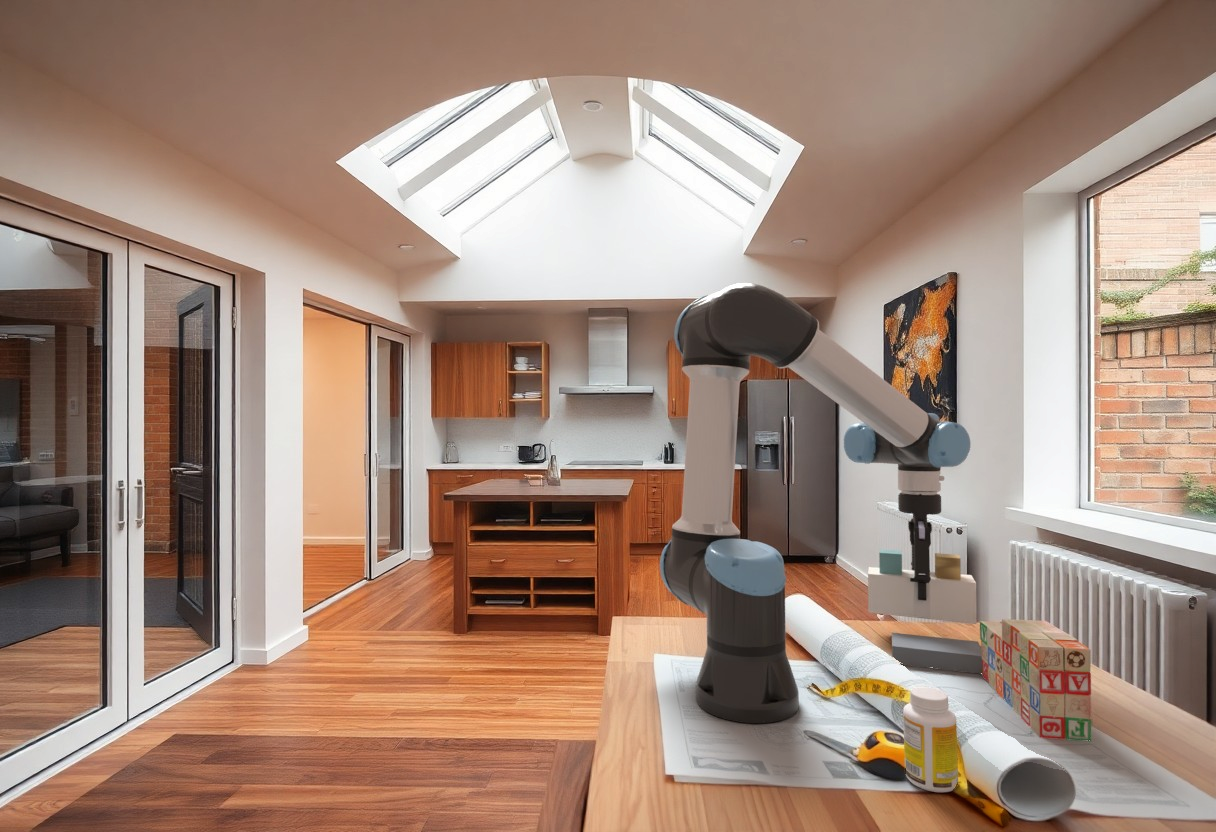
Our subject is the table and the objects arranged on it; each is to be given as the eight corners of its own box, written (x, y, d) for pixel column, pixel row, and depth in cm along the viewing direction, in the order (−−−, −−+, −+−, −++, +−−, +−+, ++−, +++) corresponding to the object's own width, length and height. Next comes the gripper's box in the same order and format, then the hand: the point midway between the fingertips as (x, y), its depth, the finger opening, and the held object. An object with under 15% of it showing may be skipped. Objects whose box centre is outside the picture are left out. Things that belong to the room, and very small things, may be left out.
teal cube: (879, 573, 126) (879, 552, 126) (879, 569, 130) (879, 549, 130) (901, 575, 124) (901, 554, 124) (901, 570, 128) (901, 550, 128)
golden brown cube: (936, 578, 122) (936, 556, 122) (935, 573, 126) (934, 553, 126) (960, 580, 120) (960, 558, 120) (958, 575, 124) (958, 554, 124)
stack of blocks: (980, 677, 106) (978, 602, 106) (1022, 679, 105) (1020, 603, 105) (1040, 738, 85) (1037, 644, 85) (1093, 743, 84) (1091, 647, 84)
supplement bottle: (961, 778, 75) (959, 690, 76) (954, 800, 71) (952, 707, 71) (909, 764, 79) (908, 679, 79) (899, 784, 74) (898, 695, 74)
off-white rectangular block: (868, 612, 125) (868, 573, 125) (868, 603, 132) (868, 566, 132) (976, 624, 118) (976, 582, 118) (971, 614, 124) (971, 575, 125)
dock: (892, 663, 112) (892, 646, 112) (891, 648, 119) (891, 632, 119) (985, 674, 107) (984, 656, 107) (978, 658, 114) (978, 641, 114)
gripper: (945, 498, 115) (947, 628, 114) (936, 488, 133) (938, 600, 132) (899, 496, 117) (900, 623, 117) (897, 487, 136) (898, 597, 135)
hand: (920, 611), depth 125 cm, fingers closed on off-white rectangular block, 7 cm apart
